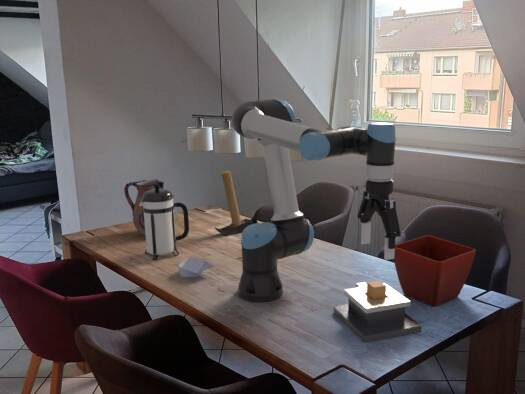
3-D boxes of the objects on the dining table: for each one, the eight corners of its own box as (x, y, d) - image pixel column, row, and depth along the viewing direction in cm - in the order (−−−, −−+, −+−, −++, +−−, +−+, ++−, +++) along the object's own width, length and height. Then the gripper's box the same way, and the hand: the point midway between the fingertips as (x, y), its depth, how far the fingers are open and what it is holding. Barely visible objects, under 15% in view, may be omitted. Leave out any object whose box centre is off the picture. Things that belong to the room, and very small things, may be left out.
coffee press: (171, 262, 209) (166, 189, 202) (136, 258, 215) (130, 187, 207) (190, 248, 225) (186, 180, 218) (157, 245, 230) (152, 178, 223)
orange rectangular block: (372, 319, 154) (373, 287, 151) (366, 313, 157) (367, 282, 155) (385, 317, 155) (386, 285, 153) (378, 311, 159) (379, 280, 156)
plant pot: (474, 297, 171) (477, 248, 167) (437, 314, 160) (440, 262, 156) (425, 280, 186) (427, 234, 182) (388, 294, 176) (390, 246, 172)
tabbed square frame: (364, 342, 145) (365, 314, 143) (333, 312, 163) (333, 286, 161) (421, 331, 150) (422, 304, 148) (385, 303, 168) (385, 278, 166)
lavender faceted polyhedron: (215, 274, 196) (192, 266, 205) (214, 257, 195) (191, 250, 203) (197, 282, 190) (174, 273, 198) (196, 264, 188) (173, 256, 197)
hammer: (221, 241, 241) (207, 179, 231) (216, 238, 245) (202, 178, 235) (258, 226, 250) (246, 166, 240) (253, 224, 254) (241, 165, 244)
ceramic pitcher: (169, 238, 240) (165, 185, 234) (122, 240, 239) (118, 186, 233) (174, 227, 257) (171, 177, 251) (131, 228, 256) (127, 178, 250)
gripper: (416, 187, 136) (412, 264, 141) (369, 169, 159) (367, 236, 164) (391, 189, 134) (387, 267, 139) (347, 171, 157) (345, 239, 162)
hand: (376, 251), depth 152 cm, fingers open, 13 cm apart
